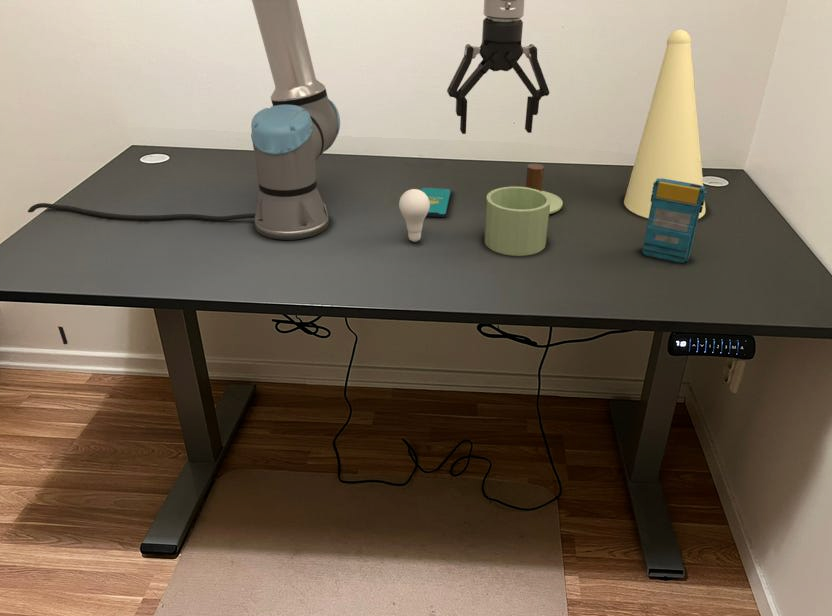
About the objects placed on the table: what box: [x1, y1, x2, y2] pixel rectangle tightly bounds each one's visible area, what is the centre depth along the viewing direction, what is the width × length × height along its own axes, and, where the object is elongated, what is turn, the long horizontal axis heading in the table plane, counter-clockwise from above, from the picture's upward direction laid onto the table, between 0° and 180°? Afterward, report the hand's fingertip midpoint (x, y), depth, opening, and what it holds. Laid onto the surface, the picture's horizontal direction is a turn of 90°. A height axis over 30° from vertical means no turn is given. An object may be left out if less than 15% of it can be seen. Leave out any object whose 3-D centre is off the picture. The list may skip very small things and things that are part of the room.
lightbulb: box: [398, 188, 430, 243], centre depth 145 cm, size 6×6×11 cm
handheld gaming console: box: [641, 178, 707, 264], centre depth 140 cm, size 10×4×15 cm, turn 64°
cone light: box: [623, 29, 707, 220], centre depth 158 cm, size 25×18×35 cm
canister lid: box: [525, 163, 564, 215], centre depth 162 cm, size 14×14×9 cm
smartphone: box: [419, 187, 452, 218], centre depth 164 cm, size 7×1×15 cm
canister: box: [483, 186, 551, 257], centre depth 146 cm, size 13×13×10 cm
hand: (495, 131), depth 148 cm, fingers open, 13 cm apart
